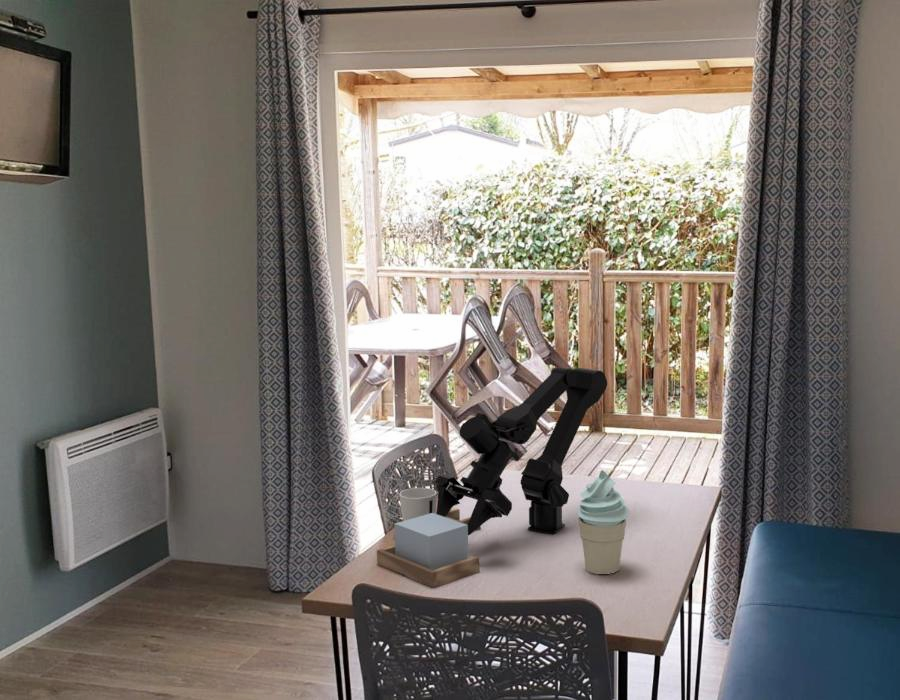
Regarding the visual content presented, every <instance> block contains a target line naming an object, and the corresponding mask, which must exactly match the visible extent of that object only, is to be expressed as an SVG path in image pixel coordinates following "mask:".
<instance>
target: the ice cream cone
mask: <svg viewBox="0 0 900 700" xmlns="http://www.w3.org/2000/svg"><path fill="white" fill-rule="evenodd" d="M616 484H617V482H616V481H614V480H613V479H612V478H611V477H610V476H609V474H608V473H606V471H604V469H603V470H600V472H599V474H598V477H597V478H596V479H594V481H593V482H592V483H587V484H586V485H585V486H586V490H584V491H582V492H581V493H580V496H581V498H583V499H582V500H580V501H579V504H580V505H579V508H578V510H577V515H578V526H579V534H580V539H581V542H582V550H583V551H582V552H583V556H584V557H583V558H584V567H585V570H586V571H587V572H589V573H590V574H593V573H594V574H593V575H598V574H608V573H613V572H616V571H618V570H619V571H620V565H621V556H622V549H623V542H624V540H625V533H626V526H627V520H626V519H627V518H628V517H629V515H630V510H629V508H628V507H627V506H626V505H625V504H626V503H625V500H624V498H623V497H622V496H621V494H620V492H618V490H615V489H614V487H615V486H616ZM619 571H618V572H619ZM616 573H617V572H616Z"/></svg>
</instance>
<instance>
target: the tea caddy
mask: <svg viewBox="0 0 900 700" xmlns="http://www.w3.org/2000/svg"><path fill="white" fill-rule="evenodd" d="M393 525H394V545H395V555H396V556H399V557H401V558H404V559H406V560H409V561H411V562H414V563H416V564H419V565H421V566H424V567H426V568H428V569H431V570H435V569H438V568H441V567H444V566H447V565H450V564H453V563H456V562H459V561H462V560H465V559H468V558H469V535H468V525H467V524H464V523H461V522H458V521H455V520H452V519H449V518H446V517H443V516H440V515H437V514H434V513H430V514H427V515H423V516H419V517H416V518H412V519H409V520H405V521H403V520H402V521H399V522H395V523H394V524H393Z"/></svg>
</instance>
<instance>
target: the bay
mask: <svg viewBox="0 0 900 700" xmlns="http://www.w3.org/2000/svg"><path fill="white" fill-rule="evenodd" d="M377 564H378V566H380V567H382V568H384V567H385V569H387V570H389V569H390V571H391V570H393V571H392V572H394V571H395V572H394V573H396V572H398V573H400V574H399V575H401V574H403V575H405V576H407V577H406V578H408V577H409V579H410V578H411V580H413V579H414V580H413V581H415V580H416V581H415V582H417V581H419V582H418V583H420V582H421V583H420V584H422V583H423V584H422V585H424V584H426V585H425V586H427V585H428V586H427V587H429V586H430V588H431V587H432V589H434V588H437V587H440V586H443V585H445V584H448V583H451V582H453V581H457V580H460V579H463V578H465V577H469V576H471V575H474V574H477V573H479V572H481V571H480V566H481V565H480V556H478V555H475V556H472V557H468V559H465V560H462V561H459V562H456V563H453V564H450V565H447V566H444V567H441V568H438V569H435V570H431V569H428V568H426V567H424V566H421V565H419V564H416V563H414V562H411V561H409V560H406V559H404V558H401V557H399V556H396V555H395V544H393V545H391V546H387V547H384V548H379V549H377V550H376V565H377ZM398 573H397V574H398ZM403 575H402V576H403ZM405 576H404V577H405ZM436 586H437V587H436Z"/></svg>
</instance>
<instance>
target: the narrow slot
mask: <svg viewBox="0 0 900 700" xmlns="http://www.w3.org/2000/svg"><path fill="white" fill-rule="evenodd" d="M460 517H461V514H460V509H459V508H454V509H451V510H450V511H449V513H448V514H447V516H446V518H449V519H452V520H455V521H458V522H461V523H464V524H467V525H468V522H469V520H470V517H467V518H463V519H461V518H460ZM481 526H482V525H481ZM481 526H480V527H479V528H477V529H476V530H475V531H479V530H481ZM475 531H474V532H475Z"/></svg>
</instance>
